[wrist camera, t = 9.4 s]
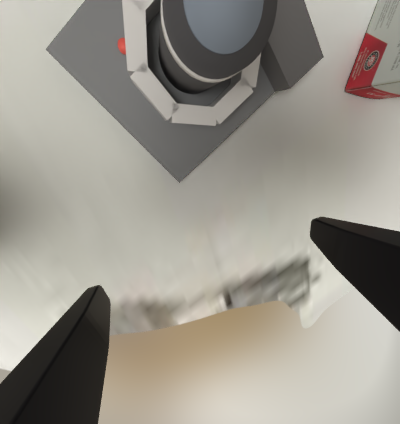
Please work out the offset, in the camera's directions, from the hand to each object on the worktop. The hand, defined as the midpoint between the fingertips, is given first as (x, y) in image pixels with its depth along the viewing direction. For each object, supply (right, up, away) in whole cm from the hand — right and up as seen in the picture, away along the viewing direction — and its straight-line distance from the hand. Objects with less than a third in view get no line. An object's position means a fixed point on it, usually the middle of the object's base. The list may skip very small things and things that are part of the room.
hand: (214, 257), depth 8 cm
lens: (-1, +13, +6) cm, 14 cm away
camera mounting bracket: (-1, +13, +7) cm, 15 cm away
